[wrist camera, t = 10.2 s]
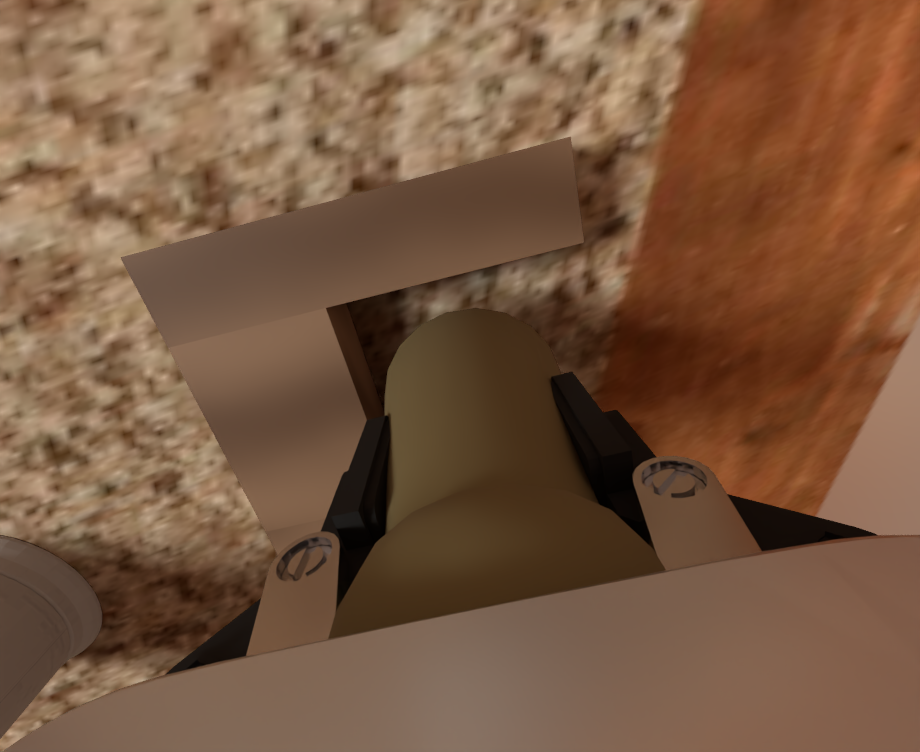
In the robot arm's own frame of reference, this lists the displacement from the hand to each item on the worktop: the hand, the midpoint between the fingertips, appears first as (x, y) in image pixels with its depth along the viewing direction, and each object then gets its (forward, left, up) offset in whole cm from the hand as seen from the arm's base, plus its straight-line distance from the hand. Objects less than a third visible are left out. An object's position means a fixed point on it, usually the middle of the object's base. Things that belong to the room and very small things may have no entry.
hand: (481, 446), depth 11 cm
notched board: (-4, +3, -6) cm, 8 cm away
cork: (0, 0, -3) cm, 3 cm away
